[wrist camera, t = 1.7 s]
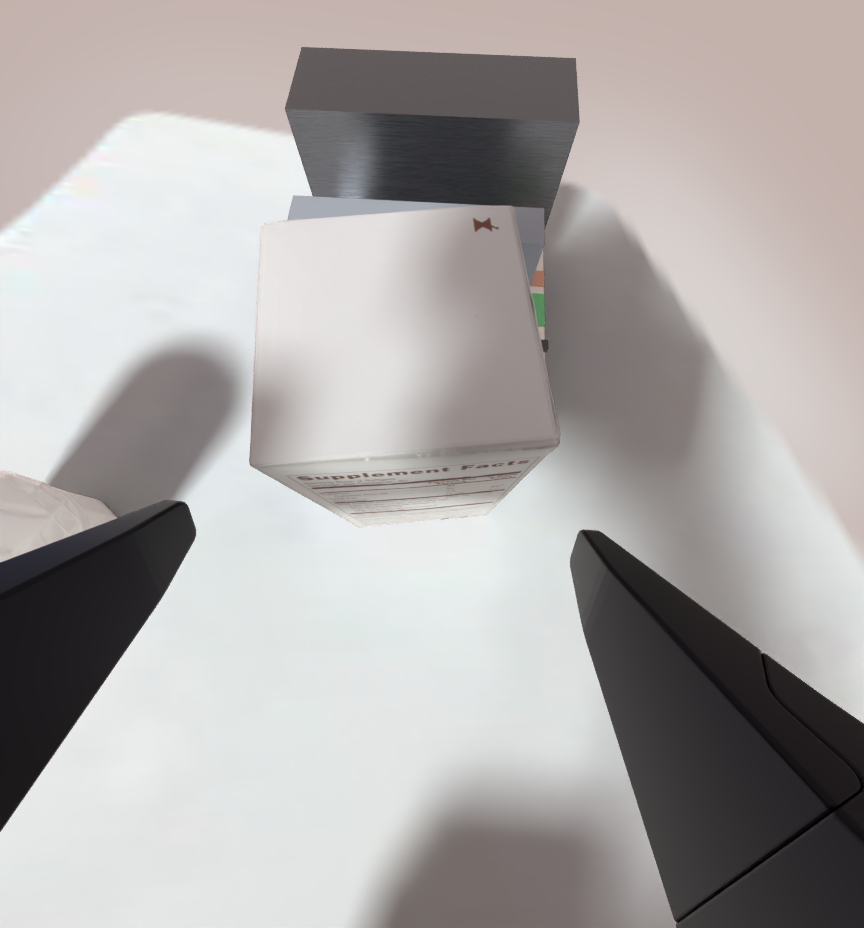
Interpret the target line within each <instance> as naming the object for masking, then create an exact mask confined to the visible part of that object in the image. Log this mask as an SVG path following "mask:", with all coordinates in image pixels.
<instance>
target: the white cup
mask: <svg viewBox="0 0 864 928" xmlns="http://www.w3.org/2000/svg"><path fill="white" fill-rule="evenodd" d="M116 518H117V517H116V516H115V515H114V514H113V513H112V512H111V511H110V510H109V509H108V508H107V507H106V506H105V505H104V504H103V503H102V502H101V501H100V500H98V499H94V498H90V497H86V496H82V495H79V494H75V493H71V492H67V491H64V490H61V489H58V488H55V487H52V486H50V485H47V484H46V483H44V482H42V481H38V480H34V479H31V478H28V477H25V476H22V475H19V474H16V473H13V472H10V471H6V470H3V469H0V562H3V561H5V560H8V559H11V558H13V557H16V556H19V555H21V554H24V553H27V552H29V551H32V550H34V549H37V548H40V547H42V546H45V545H48V544H50V543H53V542H56V541H58V540H61V539H64V538H66V537H69V536H72V535H74V534H77V533H79V532H82V531H85V530H87V529H90V528H93V527H95V526H98V525H101V524H103V523H106V522H109V521H111V520H114V519H116Z"/></svg>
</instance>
